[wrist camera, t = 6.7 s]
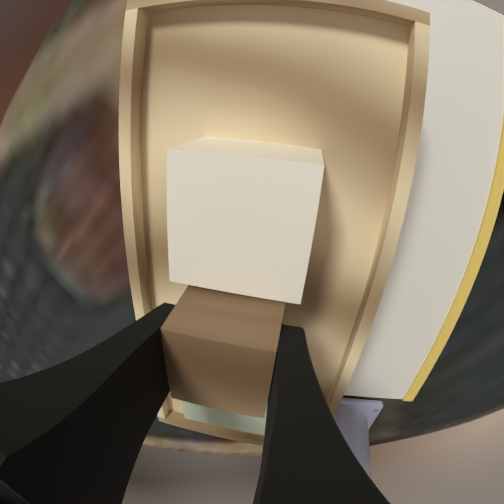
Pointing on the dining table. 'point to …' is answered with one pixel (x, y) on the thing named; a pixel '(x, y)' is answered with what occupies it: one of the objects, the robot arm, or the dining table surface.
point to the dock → (442, 201)
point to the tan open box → (281, 132)
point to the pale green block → (224, 418)
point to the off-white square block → (242, 215)
